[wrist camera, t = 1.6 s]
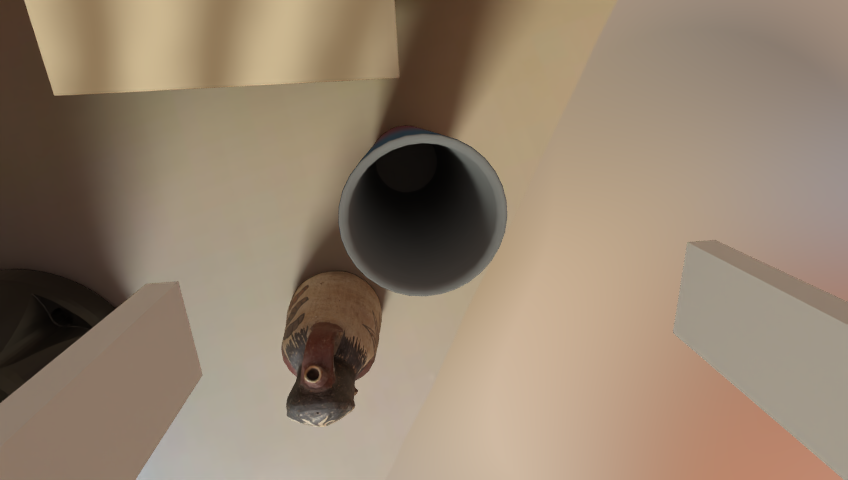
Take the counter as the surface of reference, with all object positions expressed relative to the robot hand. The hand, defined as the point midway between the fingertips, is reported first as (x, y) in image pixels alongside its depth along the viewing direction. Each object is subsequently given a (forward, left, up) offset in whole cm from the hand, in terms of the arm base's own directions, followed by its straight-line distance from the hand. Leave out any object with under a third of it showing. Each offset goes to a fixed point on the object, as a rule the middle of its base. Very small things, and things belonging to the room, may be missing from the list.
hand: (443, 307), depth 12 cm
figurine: (-6, -11, -22) cm, 25 cm away
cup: (0, 0, -22) cm, 22 cm away
